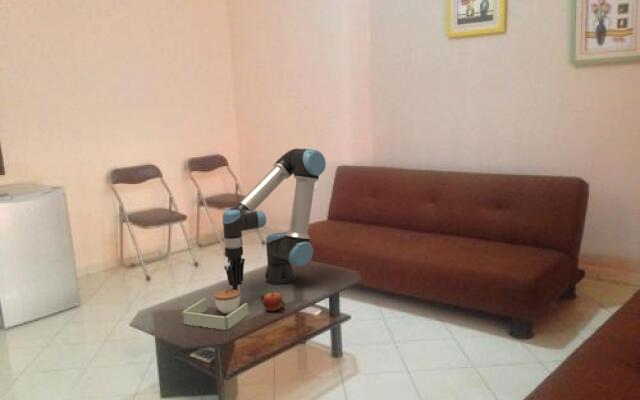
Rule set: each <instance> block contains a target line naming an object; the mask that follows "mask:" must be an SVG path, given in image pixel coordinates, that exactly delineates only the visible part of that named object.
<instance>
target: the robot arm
mask: <svg viewBox="0 0 640 400" xmlns="http://www.w3.org/2000/svg"><path fill="white" fill-rule="evenodd" d="M272 165H273V168H271V170H270V171H268V173H267V174H266V175H265V176H264V177H263V178H262V179H261V180H259V182H258V183H257V184H256V185H255V186H253V188H252V189H251V190H250V191H249V192H248V193H247V194H246V195H245V196H244V197H242V199H241V200H240V201H239V202H238V203H237V204H236V205H235V206H232V207H228V208H227V209H226V210H224V211H223V213H222V225H223V229H222V230H223V238H224V254H225V255H224V256H225V257H226V258H227V265H224V270H225V272H226V277H227V282H228V285H229V286H231V287H232V289H235V290H238V291H239V292H240V300H241V299H242V298H241V297H242V296H241V285H243V281H244V270H245V268H244V267H245V261H246V259H245V258H243V257H242V256H243V255H244V249H243V232H245V231H250V230H255V229H260V228H263V227H265V226H266V224H267V216H266V214H265V212H264V211H263V210H256V209H258V208H259V206H261V204H262V203H263V202H264V201H265V200H266V199H268V196H270V195H271V194H272V193H273V192H274V191H275V190H276V189H277V188H278V186H280V184H281V183H282V182H283V181H284V180H285V179H286V180H287V179H289V178H290V177H291V176H292V175H293V177H294V179H295V180H296V182H295V188H294V195H293V201H292V202H293V203H292V210H291V217H290V218H291V219H290V223H289V229H288V231H287V232H285V231H284V232H282V231H281V232H275V233H272V234H271V233H270V234H268V235H267V236H266V237H265V245H266V262H267V267H266V271H265V274H264V281H265V282H266V283H267V284H270V285H286V284H289V282H290V283H292V281H293V282H295V280H296V279H297V275H296V272H295V269H294V266H297V267H303V266H306V265H307V264H308V263H309V262H310V261H311V260H312V258H313V255H314V247H313V245H312V244H311V243H310V242H311V237H310V236H309V234H308V233H309V227H310V226H309V225H310V219H311V212H312V205H313V204H312V203H313V198H314V189H315V184H316V182H317V181H319V178H320V177H319V176H320V175H322V174H323V173H324V171H325V169H326V158H325V156H324V155H323V153H322V152H321V151H319V150H317V149H313V148H293V149H291V150H289V151H287V152H285V153H284V154H283V155H282V156H281V157H280V158H278V159H277V161H275V162H274V164H272ZM285 283H286V284H285Z"/></svg>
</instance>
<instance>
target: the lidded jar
mask: <svg viewBox="0 0 640 400" xmlns="http://www.w3.org/2000/svg"><path fill="white" fill-rule="evenodd" d="M240 294H241V291H240V292H239V291H238V290H235V289H233V288H226V289H220V290H219V291H216V292H215V293H213V298H214V303H215V304H214V305H215V306H216V309H218V311H219V312H220V313H221V314H227V315H229V314H230V313H232V312H233V311H235V310H236V309H237V308H239V307H240V303H241V299H240Z"/></svg>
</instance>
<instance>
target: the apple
mask: <svg viewBox="0 0 640 400" xmlns="http://www.w3.org/2000/svg"><path fill="white" fill-rule="evenodd" d="M262 304H263V307H264V308H265V309H266V310H268V311H272V312H274V311H277V310H279V309H280V308H281V307H282V305H283V297H282V295H281V294H280V293H279V292H274V291H273V292H269V293H267V294H266V295H264V296H263V300H262Z"/></svg>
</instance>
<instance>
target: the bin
mask: <svg viewBox="0 0 640 400" xmlns="http://www.w3.org/2000/svg"><path fill="white" fill-rule="evenodd" d="M248 305H249V303H247V302H244V303H243V304H242V305H241V306H240V305H239V306H238V308H237V309H236V310H235V311H233V312H232V313H228V314H227V315H226V316H221V315H215V314H207V313H206V314H205V313H204V312H206V311H208V301H207V298H202V299H201V300H199V301H198V302H196V303H194V304H193V305H191V306H189V307H188V308H186V309H184V310H183V311H181V312H180V315H181V324H182V325H185V324H187V325H186V326H192V325H193V326H194V327H199V326H202V327H201V328H207V327H208V328H209V329H214V328H215V329H216V330H223V331H228V330H230V329H231V328H232V327H234V326H235V325H237V324H238V323H239V322H241V321H242V320H244V318H246V317H247V316H249V306H248ZM215 329H214V330H215Z"/></svg>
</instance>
